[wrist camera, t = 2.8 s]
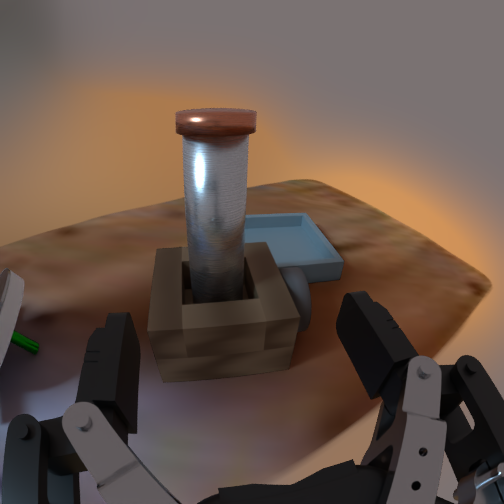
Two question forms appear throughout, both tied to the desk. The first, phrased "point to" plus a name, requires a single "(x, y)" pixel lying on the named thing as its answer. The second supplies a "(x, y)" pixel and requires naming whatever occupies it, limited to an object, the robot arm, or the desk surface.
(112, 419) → the robot arm
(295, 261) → the tray
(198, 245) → the pin
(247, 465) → the desk surface
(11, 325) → the tabbed white plastic disc
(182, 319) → the block
